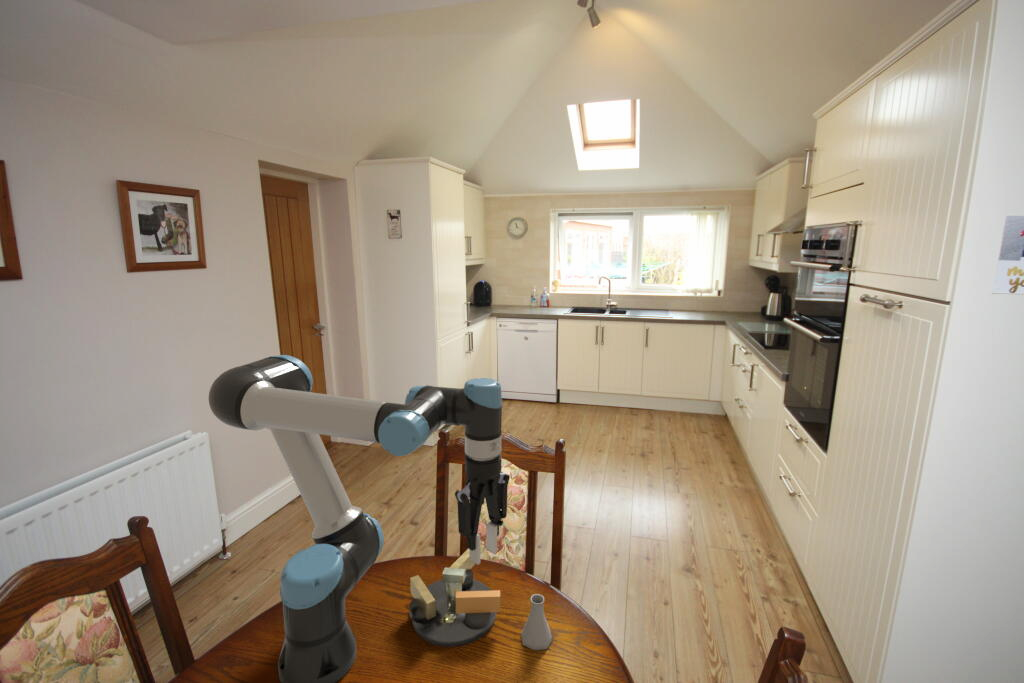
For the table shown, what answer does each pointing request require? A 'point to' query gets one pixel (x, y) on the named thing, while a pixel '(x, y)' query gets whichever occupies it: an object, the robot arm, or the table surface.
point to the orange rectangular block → (477, 606)
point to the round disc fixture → (446, 606)
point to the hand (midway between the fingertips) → (483, 555)
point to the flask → (536, 626)
